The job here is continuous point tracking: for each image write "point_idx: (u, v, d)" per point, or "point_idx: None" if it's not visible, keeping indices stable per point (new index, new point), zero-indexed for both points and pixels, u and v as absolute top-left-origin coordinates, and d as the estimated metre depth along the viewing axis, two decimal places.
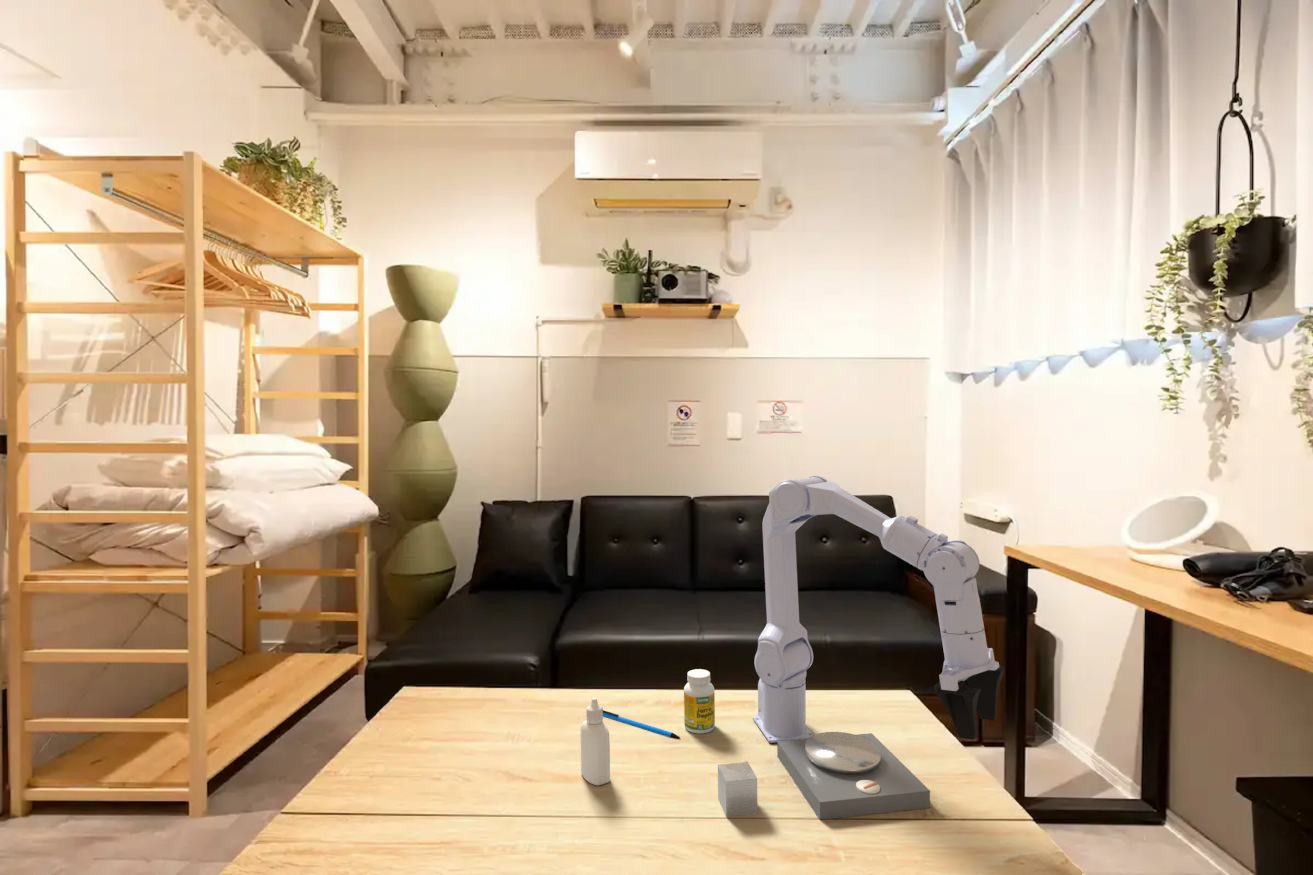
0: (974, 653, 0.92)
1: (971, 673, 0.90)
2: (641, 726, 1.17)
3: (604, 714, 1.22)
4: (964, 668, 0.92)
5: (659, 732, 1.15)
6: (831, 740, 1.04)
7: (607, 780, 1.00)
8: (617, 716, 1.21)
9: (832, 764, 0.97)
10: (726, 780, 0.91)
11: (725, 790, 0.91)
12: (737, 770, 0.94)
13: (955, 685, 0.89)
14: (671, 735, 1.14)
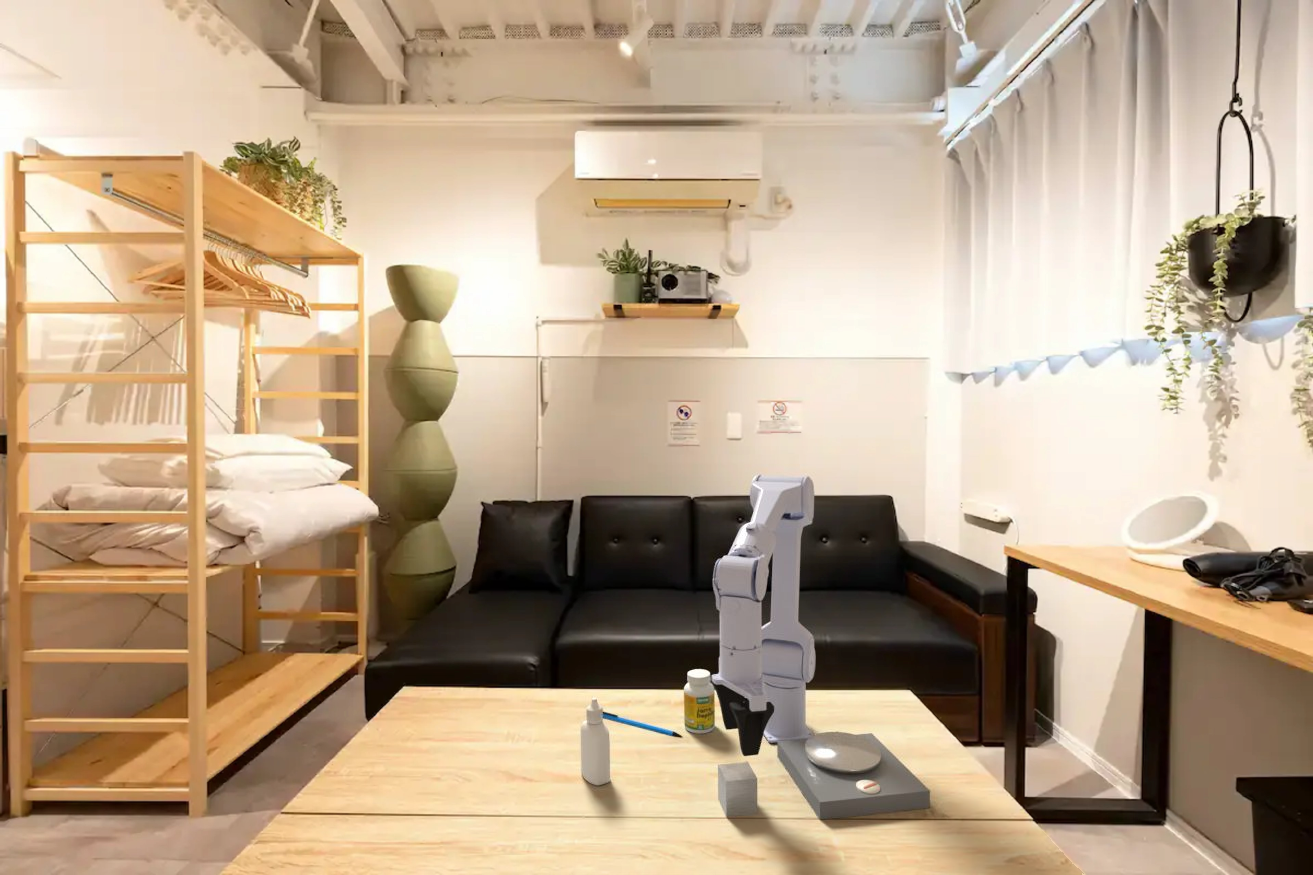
0: None
1: None
2: (642, 726, 1.17)
3: (603, 715, 1.22)
4: None
5: (660, 731, 1.15)
6: (831, 740, 1.04)
7: (607, 780, 1.00)
8: (616, 716, 1.20)
9: (832, 764, 0.97)
10: (726, 780, 0.91)
11: (725, 790, 0.91)
12: (737, 770, 0.94)
13: (719, 665, 0.99)
14: (673, 734, 1.14)
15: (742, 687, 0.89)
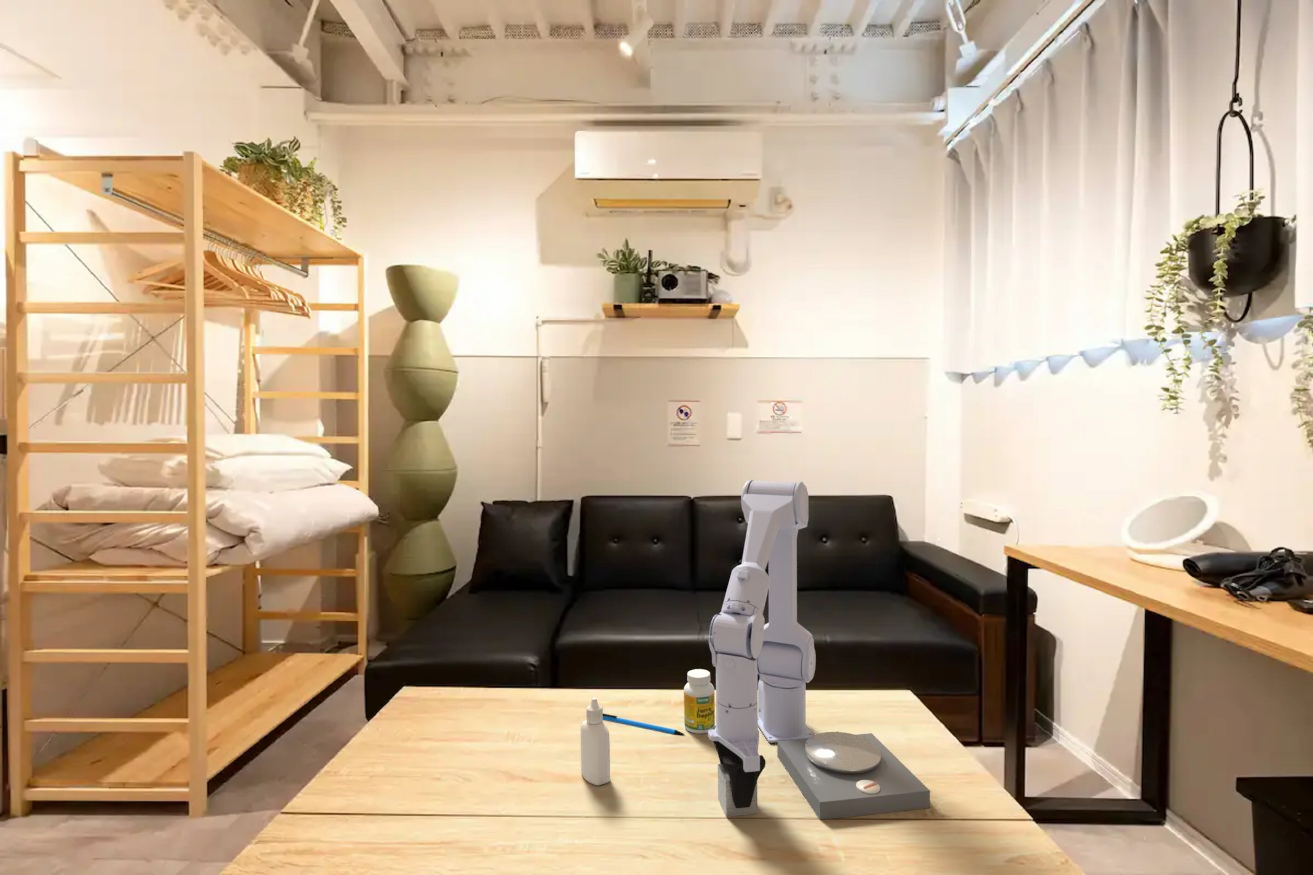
0: None
1: None
2: (642, 726, 1.17)
3: None
4: None
5: (662, 730, 1.16)
6: (831, 740, 1.04)
7: (607, 780, 1.00)
8: (615, 717, 1.20)
9: (832, 764, 0.97)
10: (726, 779, 0.91)
11: (725, 789, 0.91)
12: None
13: None
14: (675, 732, 1.15)
15: (737, 745, 0.90)
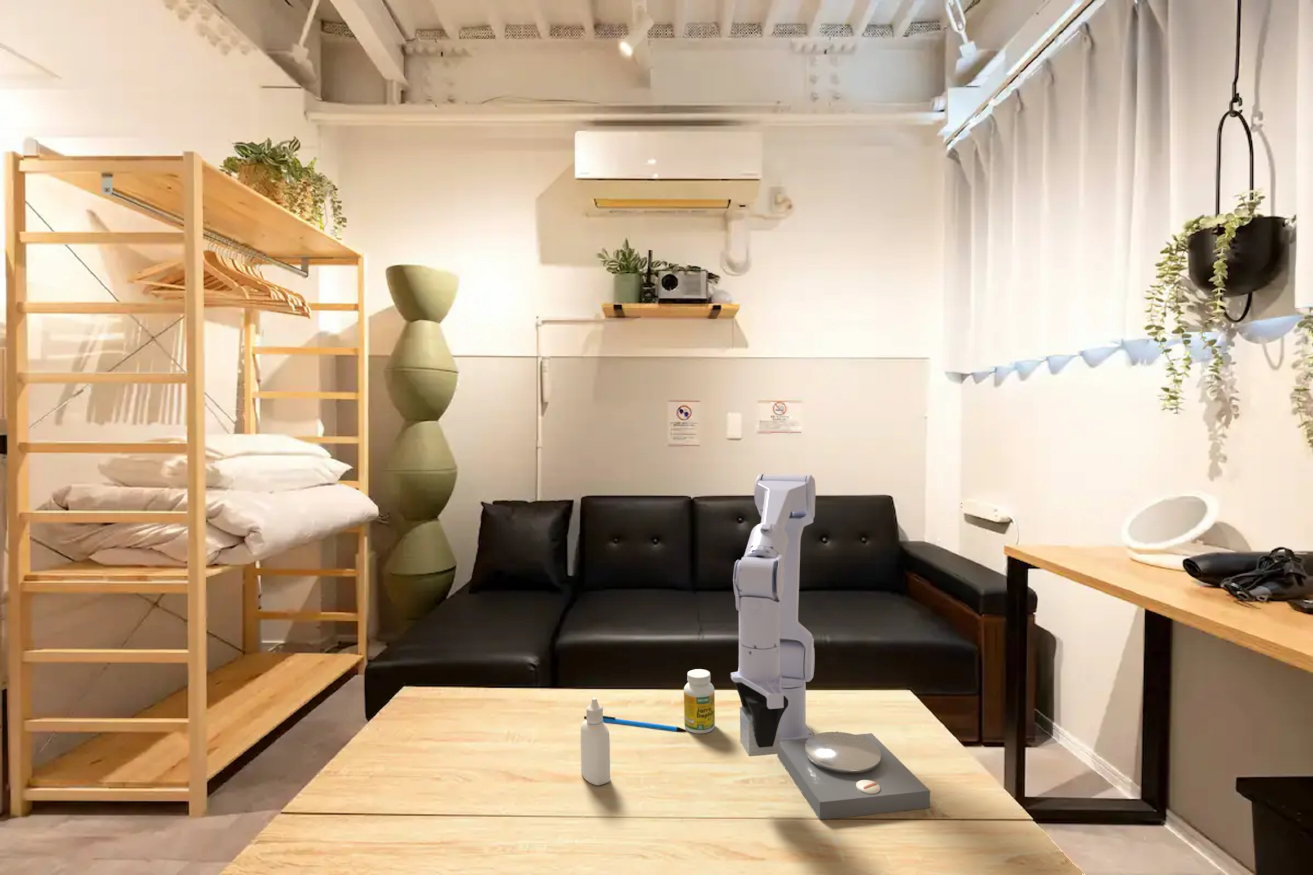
0: None
1: None
2: (643, 725, 1.18)
3: None
4: None
5: (664, 728, 1.17)
6: (831, 740, 1.04)
7: (607, 780, 1.00)
8: (614, 719, 1.19)
9: (832, 764, 0.97)
10: (749, 720, 0.93)
11: (748, 730, 0.93)
12: None
13: None
14: (677, 729, 1.16)
15: (760, 685, 0.92)
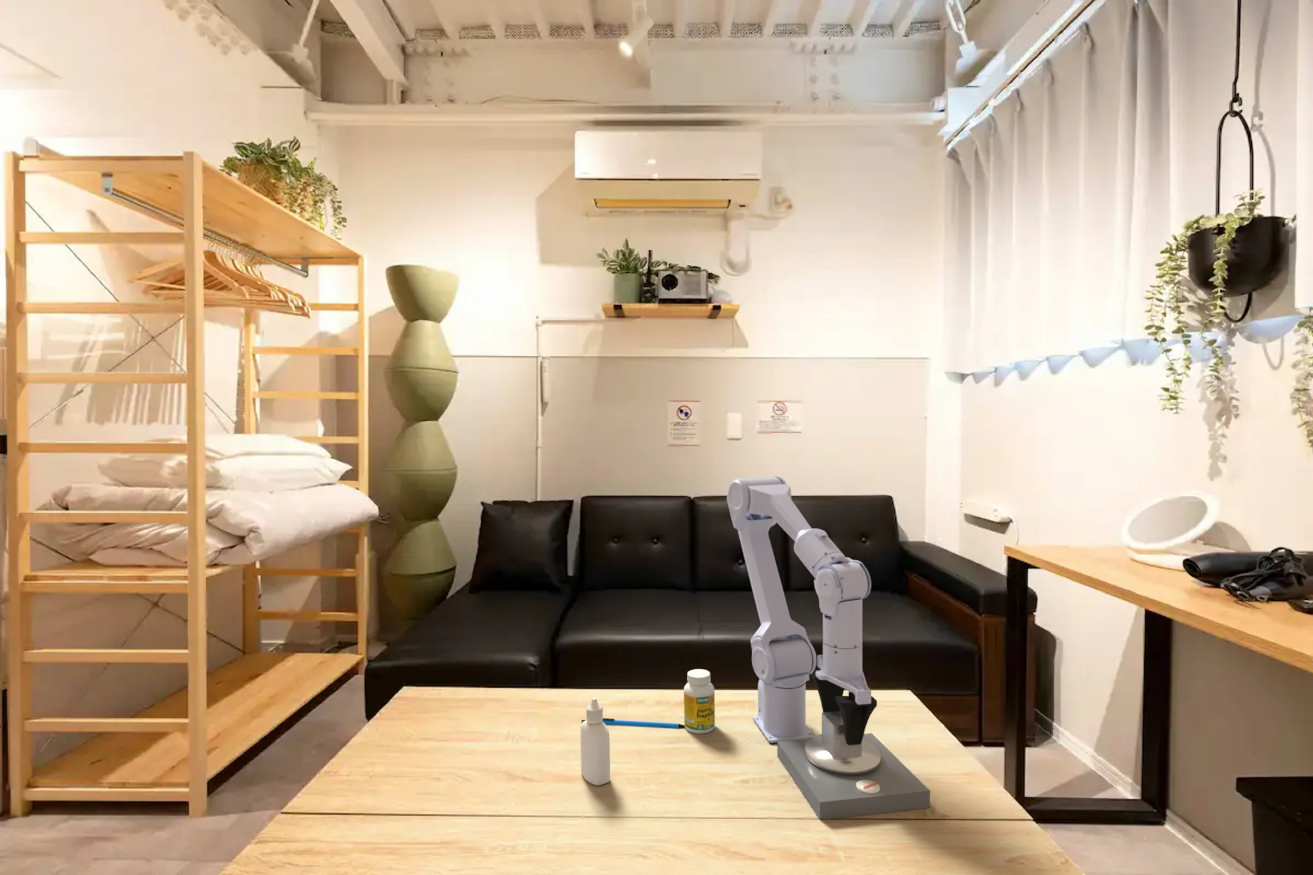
0: None
1: None
2: (644, 724, 1.18)
3: None
4: None
5: (665, 726, 1.17)
6: None
7: (607, 780, 1.00)
8: (613, 720, 1.19)
9: (832, 765, 0.97)
10: (833, 724, 0.99)
11: (832, 734, 0.99)
12: (841, 717, 1.02)
13: (817, 662, 1.08)
14: (679, 726, 1.17)
15: (846, 682, 0.98)
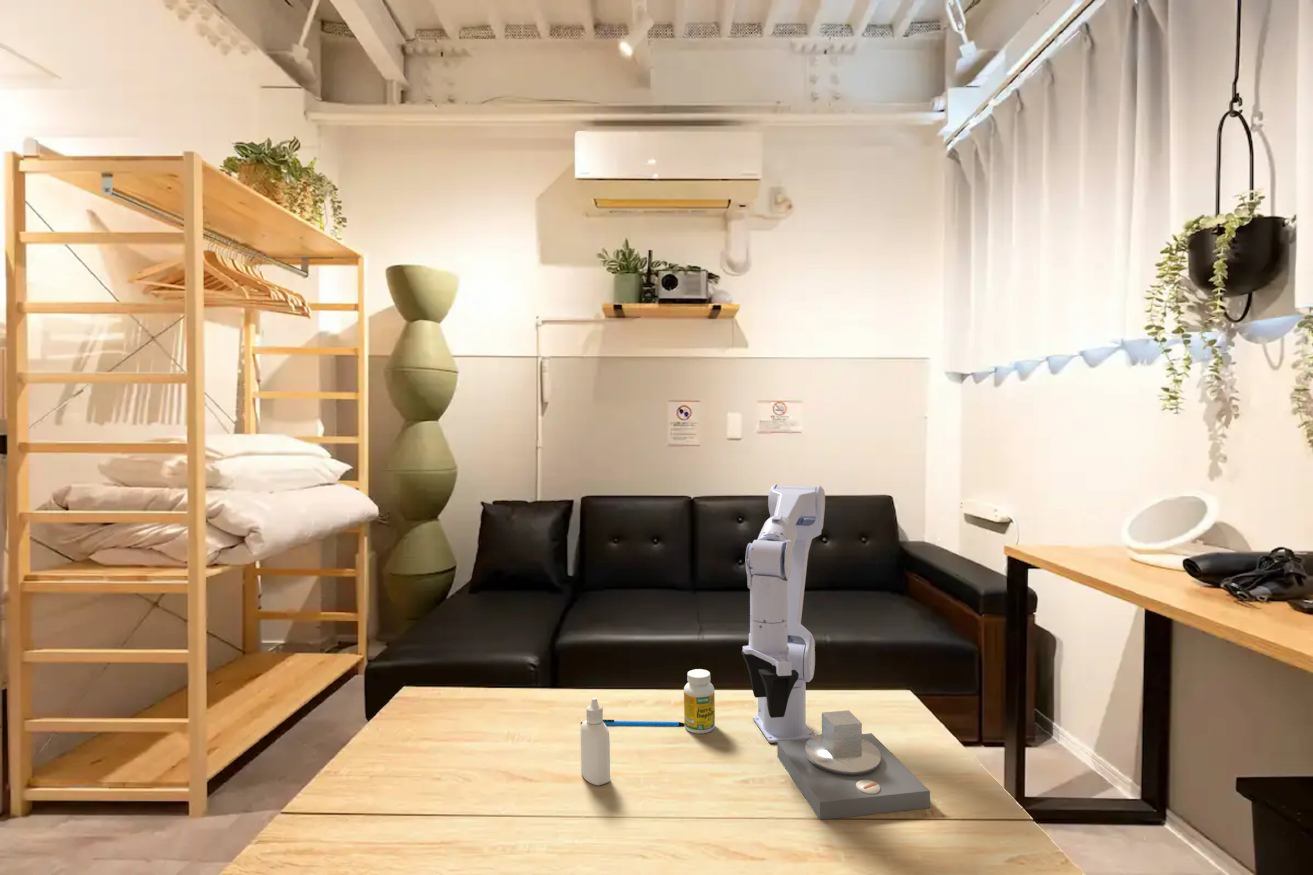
0: None
1: None
2: (644, 724, 1.18)
3: None
4: None
5: (665, 725, 1.18)
6: None
7: (607, 780, 1.00)
8: (613, 721, 1.19)
9: (832, 765, 0.97)
10: (834, 724, 0.99)
11: (832, 734, 0.99)
12: (841, 717, 1.02)
13: (749, 640, 1.11)
14: (679, 724, 1.18)
15: (770, 656, 1.01)
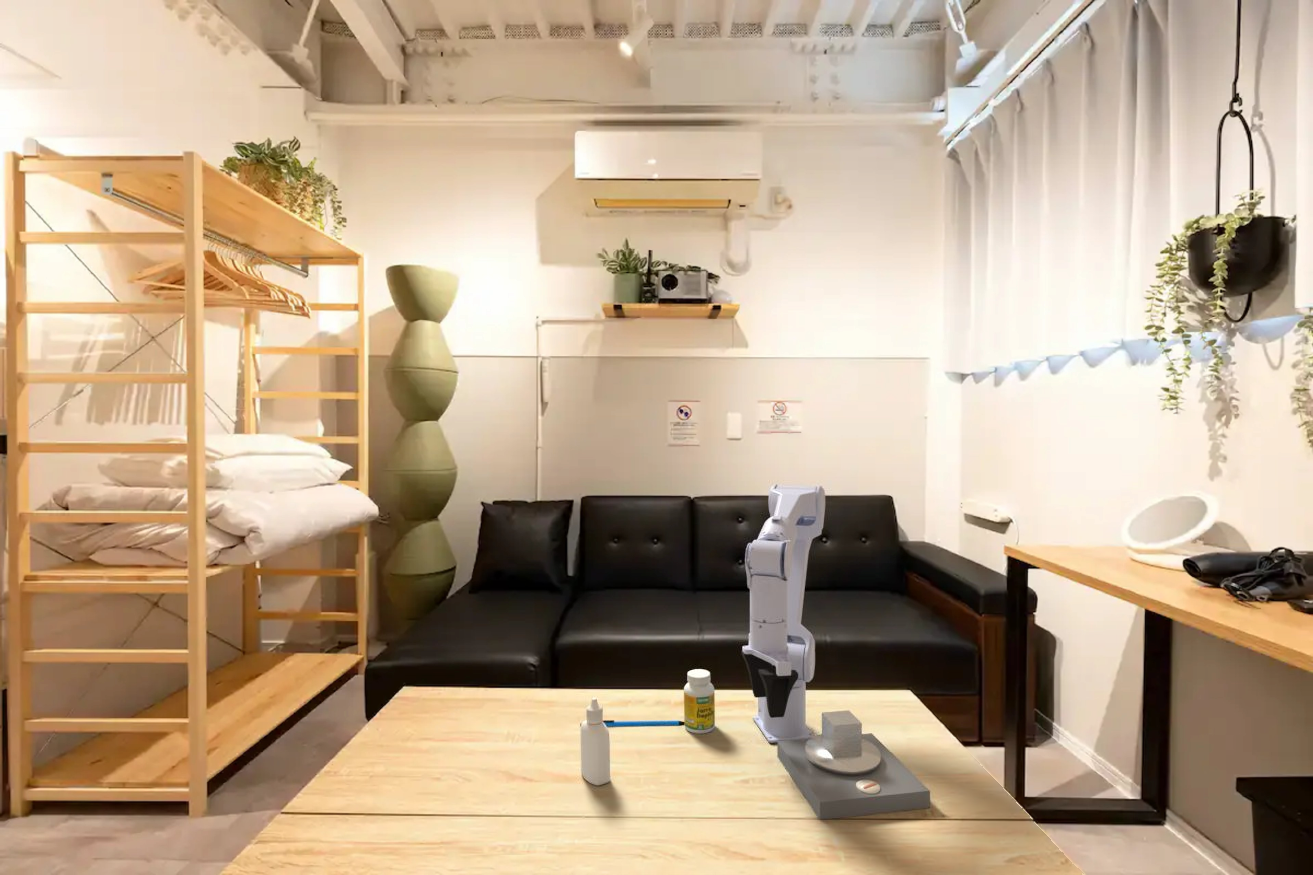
0: None
1: None
2: (644, 724, 1.18)
3: None
4: None
5: (666, 724, 1.18)
6: None
7: (607, 780, 1.00)
8: (613, 722, 1.18)
9: (832, 765, 0.97)
10: (834, 724, 0.99)
11: (832, 734, 0.99)
12: (841, 717, 1.02)
13: (749, 640, 1.11)
14: (679, 723, 1.18)
15: (769, 656, 1.01)
